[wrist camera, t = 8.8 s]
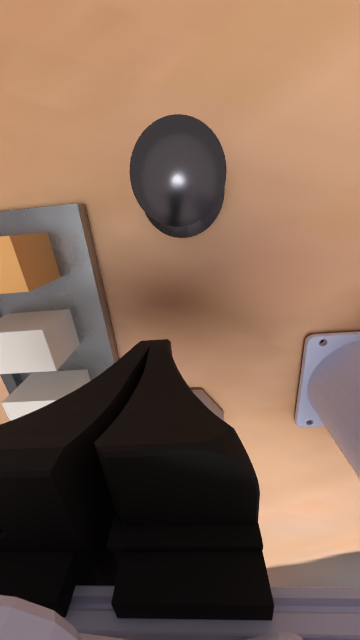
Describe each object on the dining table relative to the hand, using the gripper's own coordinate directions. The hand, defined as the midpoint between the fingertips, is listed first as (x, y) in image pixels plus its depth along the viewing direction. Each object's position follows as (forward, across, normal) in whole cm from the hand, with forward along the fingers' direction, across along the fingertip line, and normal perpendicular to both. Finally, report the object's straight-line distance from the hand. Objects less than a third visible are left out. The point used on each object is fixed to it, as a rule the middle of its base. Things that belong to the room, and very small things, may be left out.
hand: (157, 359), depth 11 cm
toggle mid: (+4, +8, 0) cm, 9 cm away
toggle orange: (+4, +8, -4) cm, 10 cm away
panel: (+5, +8, 0) cm, 10 cm away
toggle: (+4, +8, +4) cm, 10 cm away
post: (+5, -2, -7) cm, 9 cm away
